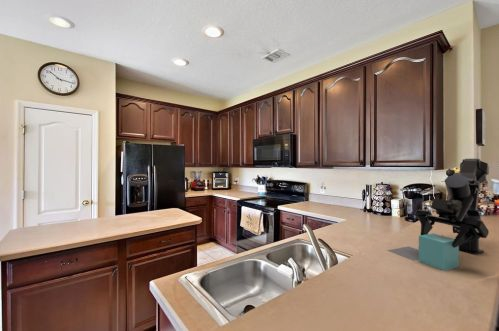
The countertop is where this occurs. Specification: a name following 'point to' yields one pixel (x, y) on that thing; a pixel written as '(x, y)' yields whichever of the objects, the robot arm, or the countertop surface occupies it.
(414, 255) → the mat
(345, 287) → the countertop surface
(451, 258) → the teal rectangular block
